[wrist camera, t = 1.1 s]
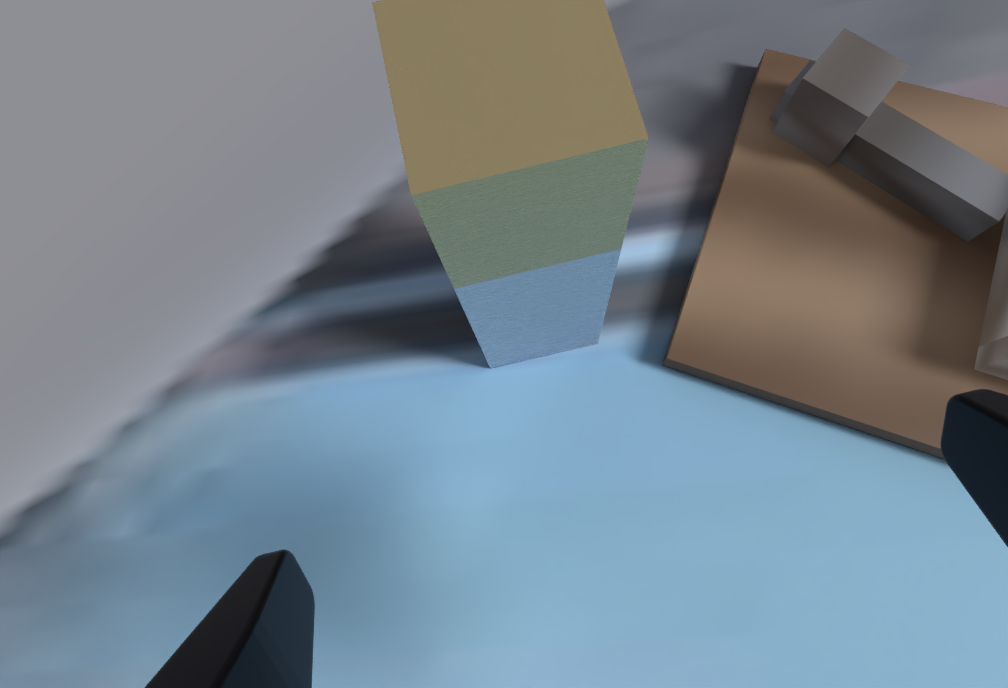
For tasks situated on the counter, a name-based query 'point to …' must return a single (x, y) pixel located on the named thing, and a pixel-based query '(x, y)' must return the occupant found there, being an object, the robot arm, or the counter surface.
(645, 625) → the counter surface
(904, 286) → the shaft board
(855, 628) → the counter surface
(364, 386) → the counter surface
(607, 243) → the block
